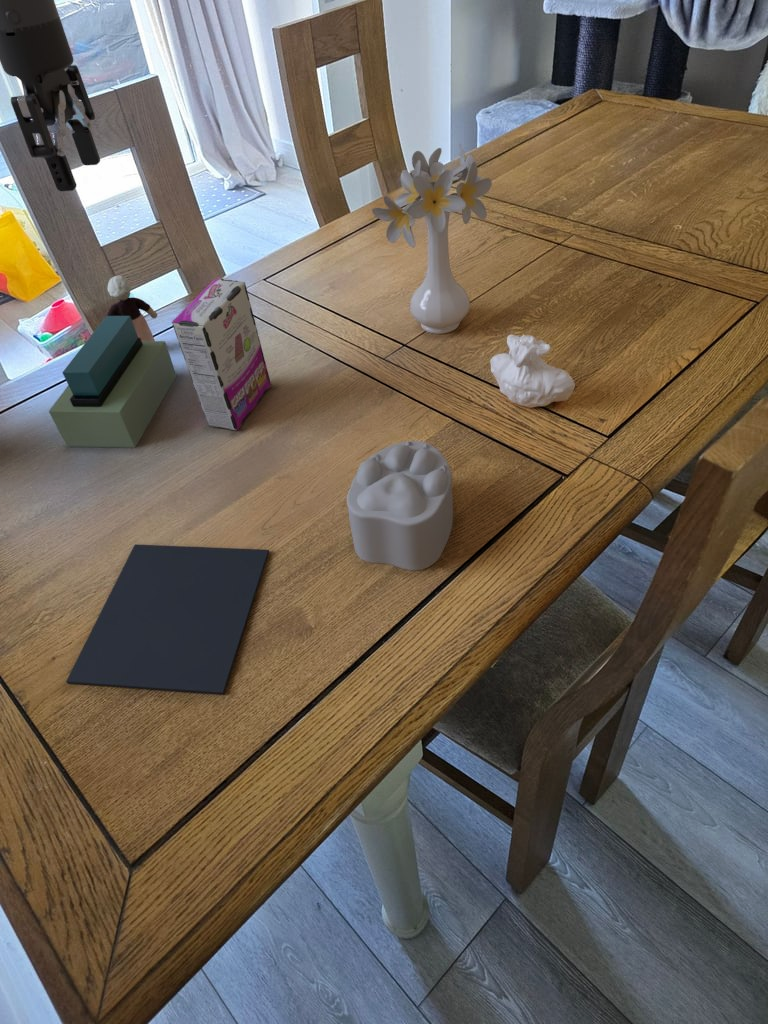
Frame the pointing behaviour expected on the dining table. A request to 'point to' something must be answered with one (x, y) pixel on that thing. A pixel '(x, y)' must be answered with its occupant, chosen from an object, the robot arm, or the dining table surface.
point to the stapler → (102, 361)
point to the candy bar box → (223, 353)
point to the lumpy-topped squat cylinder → (402, 506)
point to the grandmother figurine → (130, 307)
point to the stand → (119, 403)
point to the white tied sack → (530, 374)
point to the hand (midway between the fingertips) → (80, 176)
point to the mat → (173, 620)
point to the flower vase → (436, 232)
